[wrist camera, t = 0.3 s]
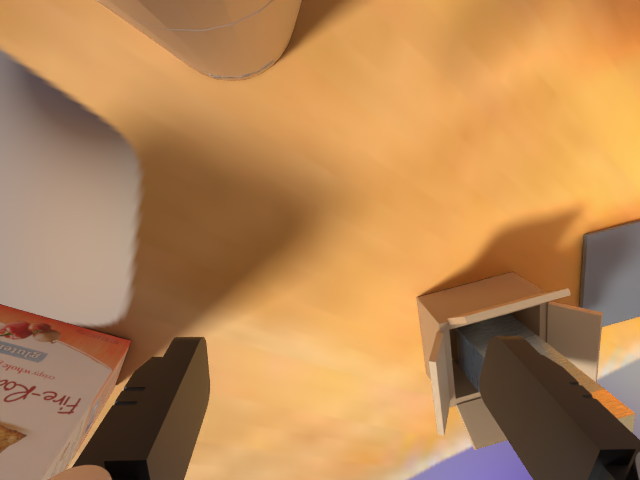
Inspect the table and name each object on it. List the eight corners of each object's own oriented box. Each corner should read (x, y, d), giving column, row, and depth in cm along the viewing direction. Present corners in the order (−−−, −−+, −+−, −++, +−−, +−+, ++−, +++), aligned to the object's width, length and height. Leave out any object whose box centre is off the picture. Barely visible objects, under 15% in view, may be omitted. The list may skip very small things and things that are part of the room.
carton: (390, 282, 31) (426, 329, 24) (534, 244, 32) (609, 279, 25) (408, 395, 36) (442, 462, 29) (533, 360, 37) (596, 416, 30)
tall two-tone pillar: (442, 311, 33) (556, 437, 20) (490, 298, 33) (635, 413, 20) (445, 349, 35) (554, 489, 21) (492, 336, 35) (627, 466, 22)
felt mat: (584, 234, 32) (587, 235, 32) (699, 204, 33) (704, 205, 33) (578, 330, 36) (581, 332, 36) (681, 301, 37) (685, 303, 36)
